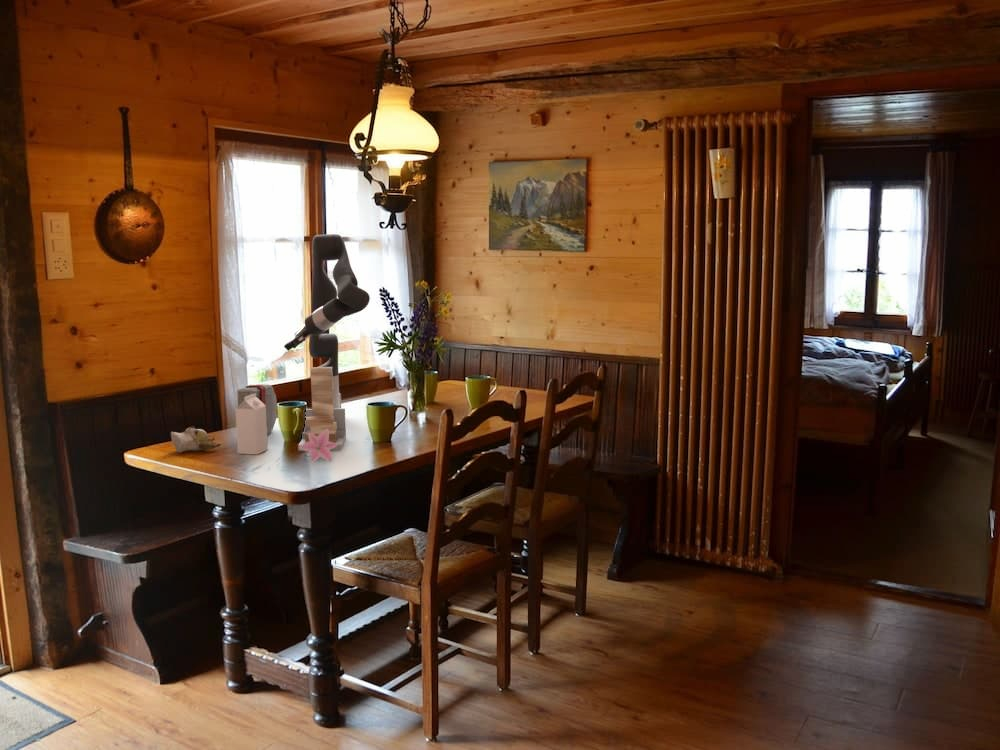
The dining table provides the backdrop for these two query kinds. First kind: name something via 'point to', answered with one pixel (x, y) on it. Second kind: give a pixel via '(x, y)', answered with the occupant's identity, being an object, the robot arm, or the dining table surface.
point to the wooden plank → (322, 391)
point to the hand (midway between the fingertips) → (291, 342)
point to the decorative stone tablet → (266, 397)
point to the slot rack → (341, 427)
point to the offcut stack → (322, 427)
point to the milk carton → (251, 426)
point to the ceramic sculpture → (192, 440)
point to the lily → (319, 446)
